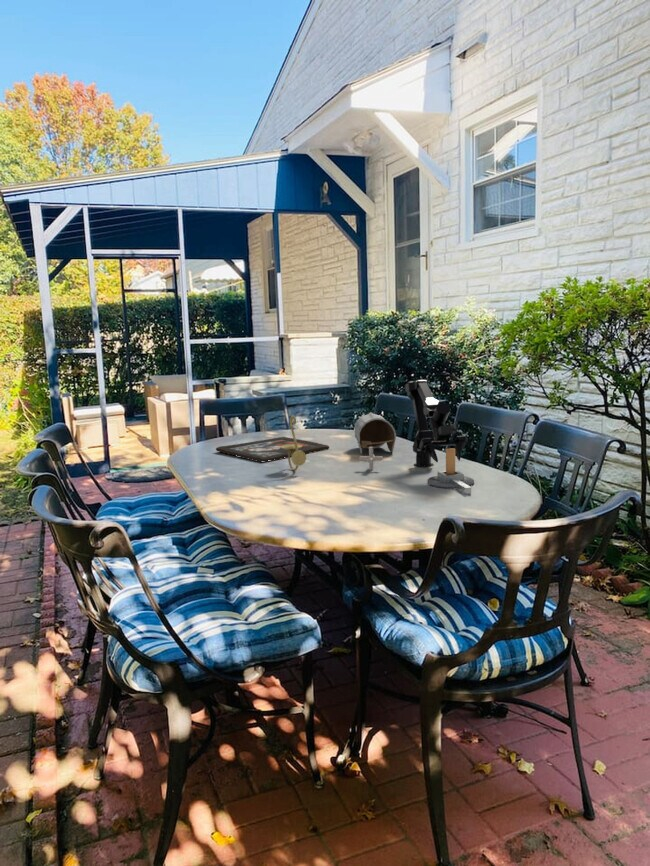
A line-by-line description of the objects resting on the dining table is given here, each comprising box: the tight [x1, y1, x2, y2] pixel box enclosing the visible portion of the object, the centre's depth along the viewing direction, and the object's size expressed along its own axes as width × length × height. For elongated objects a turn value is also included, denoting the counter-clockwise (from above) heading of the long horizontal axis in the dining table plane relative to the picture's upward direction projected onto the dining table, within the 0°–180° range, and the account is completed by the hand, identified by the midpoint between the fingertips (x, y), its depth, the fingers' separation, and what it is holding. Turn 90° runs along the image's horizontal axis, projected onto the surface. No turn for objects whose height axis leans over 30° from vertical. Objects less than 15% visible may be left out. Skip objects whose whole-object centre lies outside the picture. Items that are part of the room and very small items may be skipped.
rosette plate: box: [427, 469, 475, 495], centre depth 250 cm, size 27×18×4 cm, turn 10°
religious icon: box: [215, 436, 330, 462], centre depth 331 cm, size 40×45×3 cm
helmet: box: [354, 412, 397, 455], centre depth 321 cm, size 19×18×30 cm
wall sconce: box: [281, 414, 307, 472], centre depth 282 cm, size 14×10×25 cm
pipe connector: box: [359, 447, 384, 471], centre depth 281 cm, size 10×10×10 cm
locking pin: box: [445, 447, 456, 475], centre depth 253 cm, size 4×4×12 cm
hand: (448, 461), depth 255 cm, fingers open, 9 cm apart
